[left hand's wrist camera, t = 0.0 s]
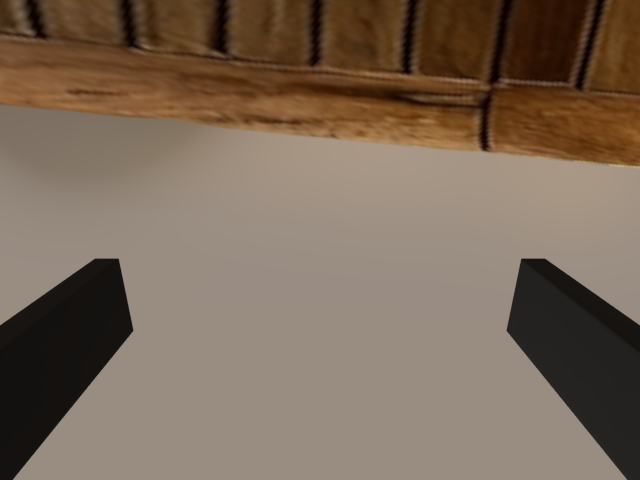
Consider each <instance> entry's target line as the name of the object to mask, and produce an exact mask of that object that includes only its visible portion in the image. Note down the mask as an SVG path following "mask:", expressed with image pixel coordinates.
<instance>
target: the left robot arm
mask: <svg viewBox="0 0 640 480" xmlns="http://www.w3.org/2000/svg"><path fill="white" fill-rule="evenodd" d="M132 332H133V326H132V321H131V317H130V312H129V307H128V302H127V297H126V292H125V287H124V282H123V278H122V273H121V268H120V263H119V259H94V260H92V261H91V262H90V263H88V264H87V265H85V266H84V267H83V268H81V269H80V270H78V271H77V272H75V273H74V274H73V275H71V276H70V277H68V278H67V279H66V280H64V281H63V282H61V283H60V284H58V285H57V286H56V287H54V288H53V289H51V290H50V291H48V292H47V293H46V294H44V295H43V296H41V297H40V298H38V299H37V300H36V301H34V302H33V303H31V304H30V305H29V306H27V307H26V308H24V309H23V310H21V311H20V312H19V313H17V314H16V315H14V316H13V317H11V318H10V319H9V320H7V321H6V322H4V323H3V324H2V325H0V480H13V479H14V477H15V476H16V475H17V474H18V473H19V471H20V470H21V469H22V468H23V466H24V465H25V464H26V463H27V461H28V460H29V459H30V458H31V456H32V455H33V454H34V453H35V452H36V450H37V449H38V448H39V447H40V445H41V444H42V443H43V442H44V440H45V439H46V438H47V437H48V436H49V434H50V433H51V432H52V431H53V429H54V428H55V427H56V426H57V424H58V423H59V422H60V421H61V419H62V418H63V417H64V416H65V415H66V413H67V412H68V411H69V410H70V408H71V407H72V406H73V405H74V403H75V402H76V401H77V400H78V398H79V397H80V396H81V395H82V394H83V392H84V391H85V390H86V389H87V387H88V386H89V385H90V384H91V382H92V381H93V380H94V379H95V377H96V376H97V375H98V374H99V373H100V371H101V370H102V369H103V368H104V366H105V365H106V364H107V363H108V361H109V360H110V359H111V358H112V357H113V355H114V354H115V353H116V352H117V350H118V349H119V348H120V347H121V345H122V344H123V343H124V342H125V340H126V339H127V338H128V337H129V335H130V334H131V333H132ZM507 332H508V333H509V334H510V336H511V337H512V338H513V339H514V340H515V342H516V343H517V344H518V345H519V347H520V348H521V349H522V350H523V352H524V353H525V354H526V355H527V357H528V358H529V359H530V360H531V361H532V363H533V364H534V365H535V366H536V368H537V369H538V370H539V371H540V373H541V374H542V375H543V376H544V378H545V379H546V380H547V381H548V382H549V384H550V385H551V386H552V387H553V389H554V390H555V391H556V392H557V394H558V395H559V396H560V397H561V398H562V400H563V401H564V402H565V403H566V405H567V406H568V407H569V408H570V410H571V411H572V412H573V413H574V415H575V416H576V417H577V418H578V419H579V421H580V422H581V423H582V424H583V426H584V427H585V428H586V429H587V431H588V432H589V433H590V434H591V436H592V437H593V438H594V439H595V440H596V442H597V443H598V444H599V445H600V447H601V448H602V449H603V450H604V452H605V453H606V454H607V455H608V456H609V458H610V459H611V460H612V461H613V463H614V464H615V465H616V466H617V468H618V469H619V470H620V471H621V472H622V474H623V475H624V476H625V477H626V479H627V480H640V325H638V324H637V323H636V322H634V321H633V320H631V319H630V318H628V317H627V316H626V315H624V314H623V313H621V312H620V311H619V310H617V309H616V308H614V307H613V306H611V305H610V304H609V303H607V302H606V301H604V300H603V299H601V298H600V297H599V296H597V295H596V294H594V293H593V292H591V291H590V290H589V289H587V288H586V287H584V286H583V285H582V284H580V283H579V282H577V281H576V280H575V279H573V278H572V277H570V276H569V275H567V274H566V273H565V272H563V271H562V270H560V269H559V268H557V267H556V266H555V265H553V264H552V263H550V262H549V261H548V260H546V259H521V263H520V268H519V273H518V278H517V282H516V288H515V292H514V297H513V302H512V307H511V312H510V317H509V322H508V326H507Z"/></svg>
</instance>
